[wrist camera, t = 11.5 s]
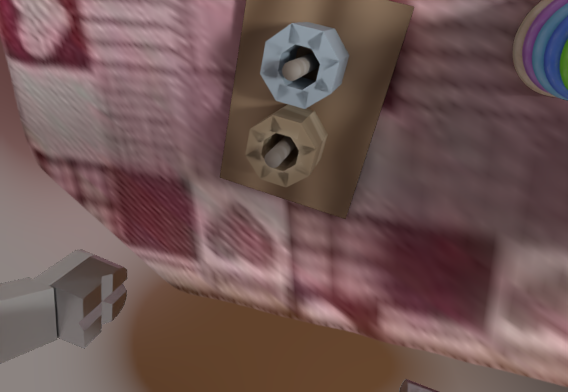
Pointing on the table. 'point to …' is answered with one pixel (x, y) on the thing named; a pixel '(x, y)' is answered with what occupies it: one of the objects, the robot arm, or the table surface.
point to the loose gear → (285, 50)
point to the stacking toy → (544, 49)
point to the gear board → (321, 115)
